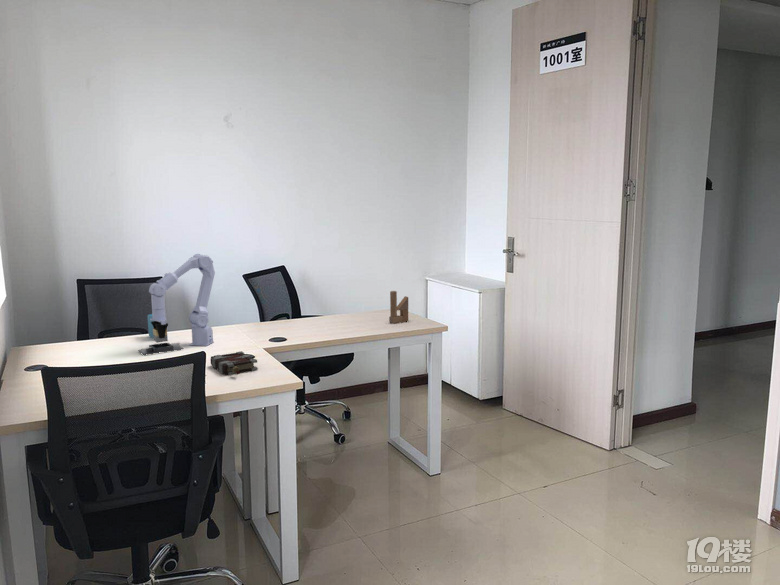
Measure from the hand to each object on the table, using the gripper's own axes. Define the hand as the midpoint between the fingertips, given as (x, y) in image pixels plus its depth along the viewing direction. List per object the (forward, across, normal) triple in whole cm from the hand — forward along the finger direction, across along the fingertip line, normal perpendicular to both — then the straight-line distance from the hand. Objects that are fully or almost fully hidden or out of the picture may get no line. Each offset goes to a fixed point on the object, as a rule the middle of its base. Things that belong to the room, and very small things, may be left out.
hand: (160, 337), depth 303 cm
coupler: (+2, 0, 0) cm, 2 cm away
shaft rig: (+6, 0, 0) cm, 6 cm away
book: (+7, +53, +16) cm, 56 cm away
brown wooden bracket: (+6, +17, +127) cm, 128 cm away
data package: (+7, -28, +6) cm, 29 cm away
